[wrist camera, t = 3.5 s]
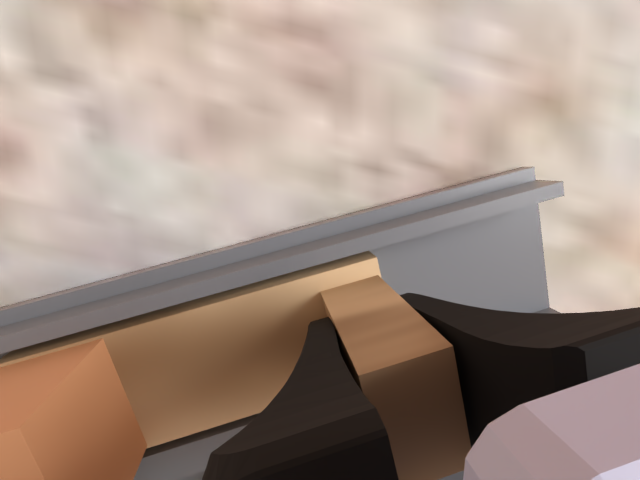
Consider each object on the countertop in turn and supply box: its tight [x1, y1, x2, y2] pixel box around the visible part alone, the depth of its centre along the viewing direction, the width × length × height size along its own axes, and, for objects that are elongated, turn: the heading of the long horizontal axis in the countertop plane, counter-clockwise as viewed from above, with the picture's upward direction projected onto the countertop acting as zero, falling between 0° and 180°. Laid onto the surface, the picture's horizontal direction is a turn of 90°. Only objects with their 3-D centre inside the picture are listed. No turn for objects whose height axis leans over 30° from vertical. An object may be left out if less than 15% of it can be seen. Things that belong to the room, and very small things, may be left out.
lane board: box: [0, 167, 564, 480], centre depth 14 cm, size 12×22×2 cm, turn 104°
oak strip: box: [0, 251, 471, 480], centre depth 10 cm, size 4×12×6 cm, turn 104°
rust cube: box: [0, 338, 147, 480], centre depth 10 cm, size 4×4×4 cm
